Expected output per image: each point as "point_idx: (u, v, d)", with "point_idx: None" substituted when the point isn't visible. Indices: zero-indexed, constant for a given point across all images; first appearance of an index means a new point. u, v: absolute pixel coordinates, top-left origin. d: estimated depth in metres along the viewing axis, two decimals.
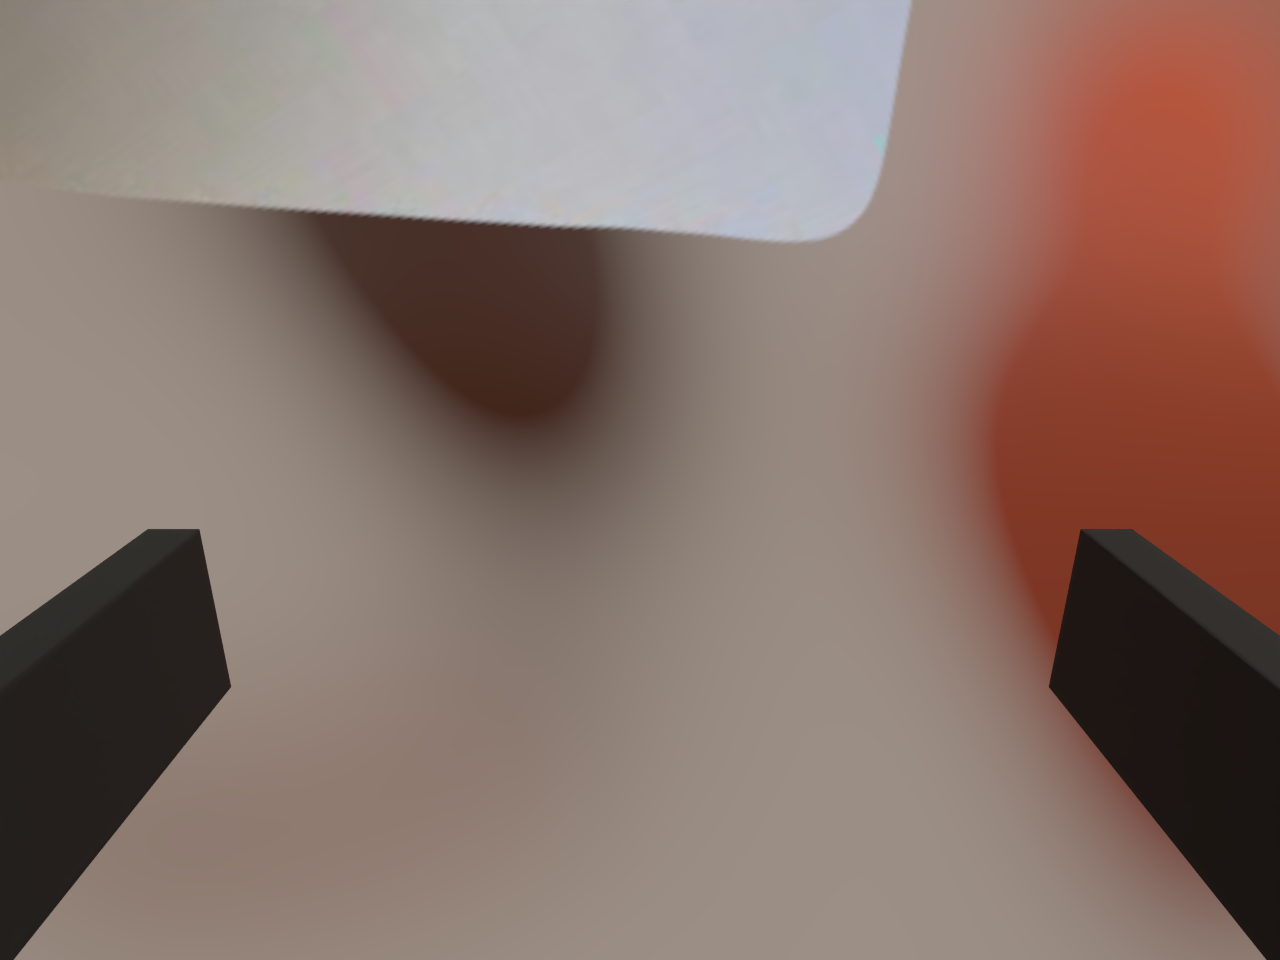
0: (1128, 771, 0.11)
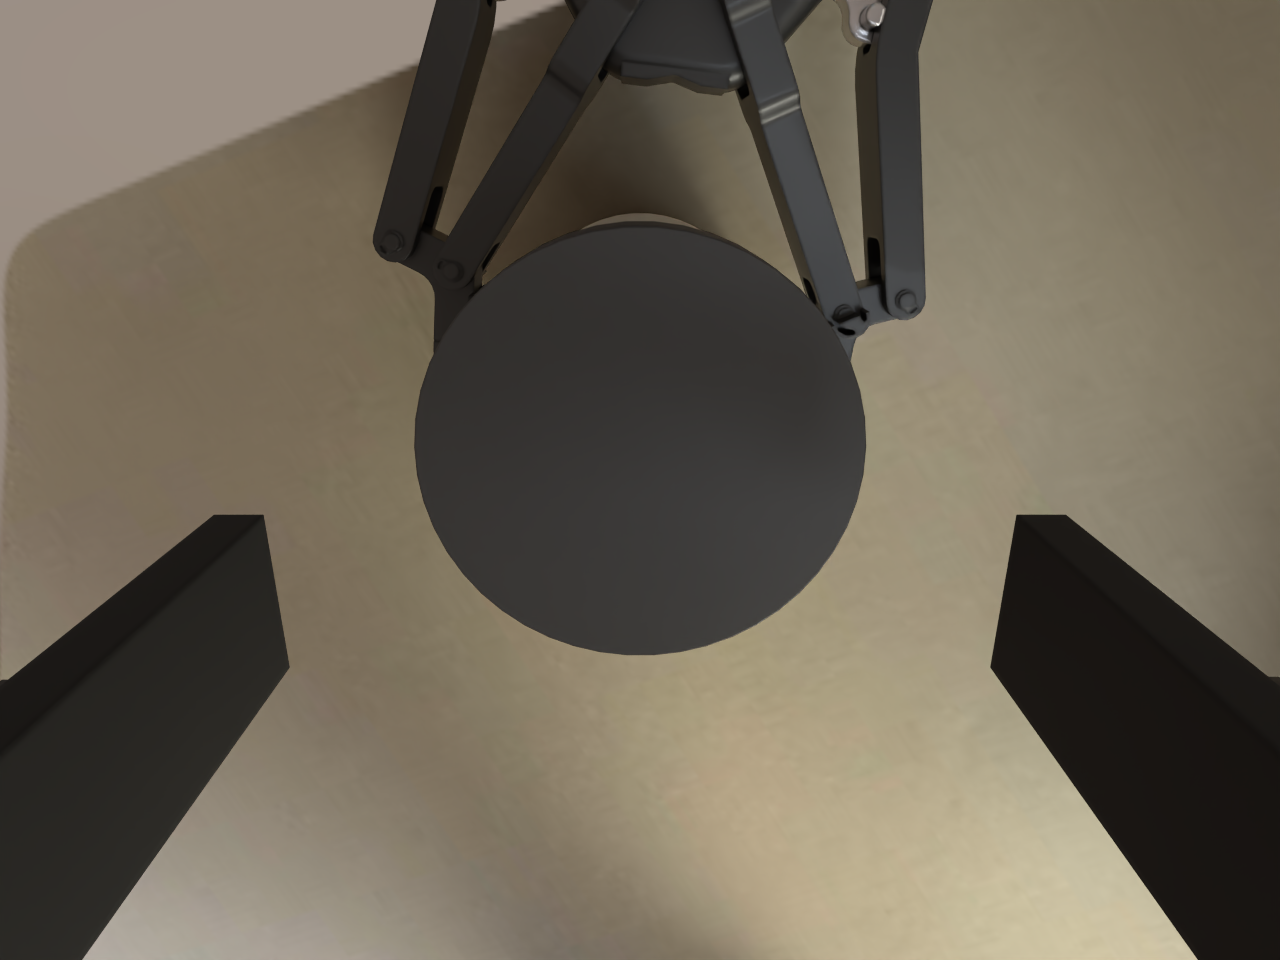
0: (1055, 744, 0.11)
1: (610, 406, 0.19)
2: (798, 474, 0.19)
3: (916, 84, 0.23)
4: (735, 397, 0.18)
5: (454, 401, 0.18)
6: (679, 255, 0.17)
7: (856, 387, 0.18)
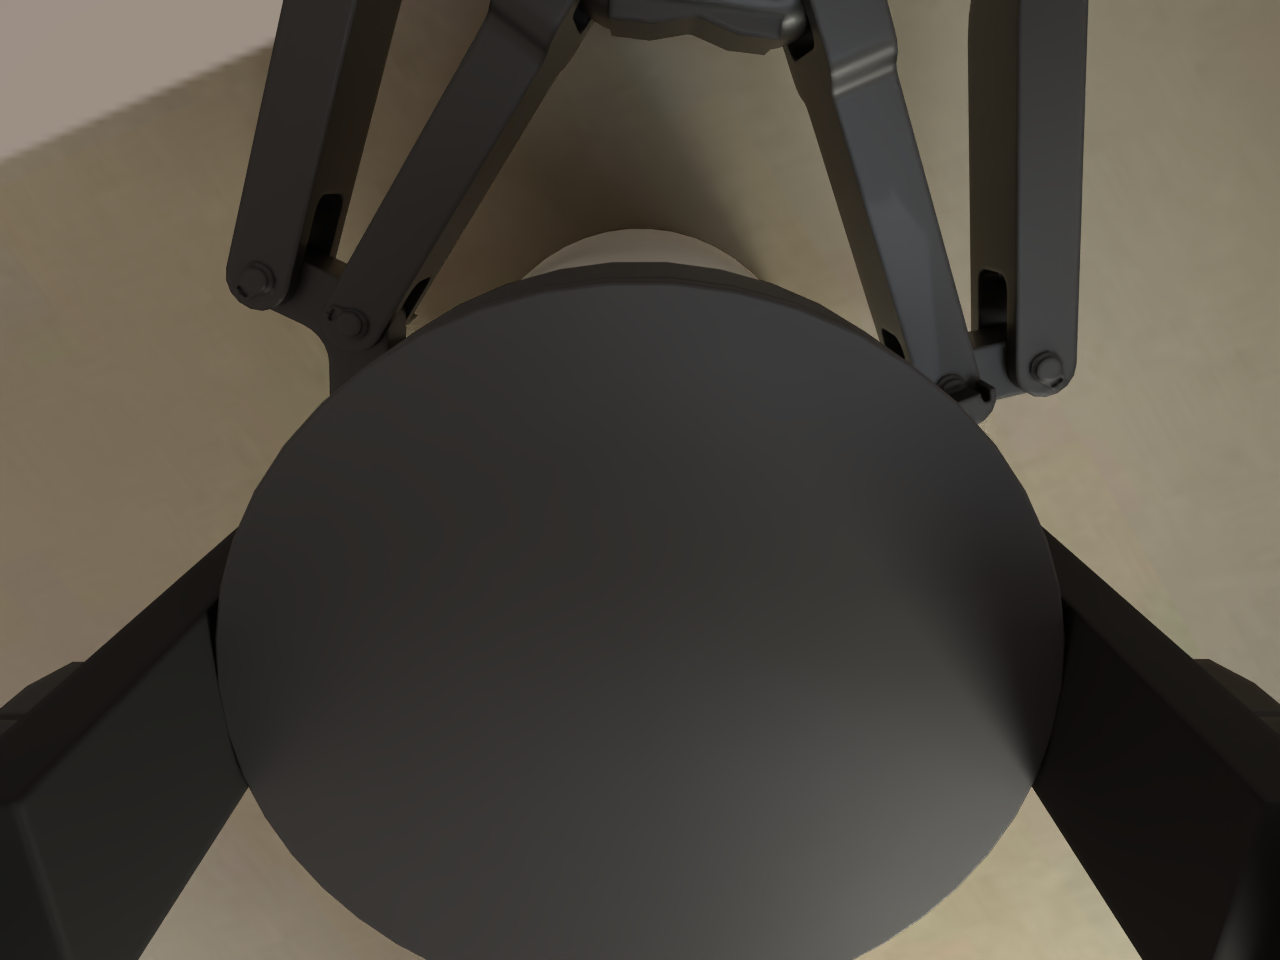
0: None
1: (583, 617, 0.10)
2: (933, 731, 0.10)
3: (1082, 31, 0.15)
4: (822, 601, 0.10)
5: (286, 607, 0.10)
6: (719, 339, 0.09)
7: (1054, 583, 0.10)
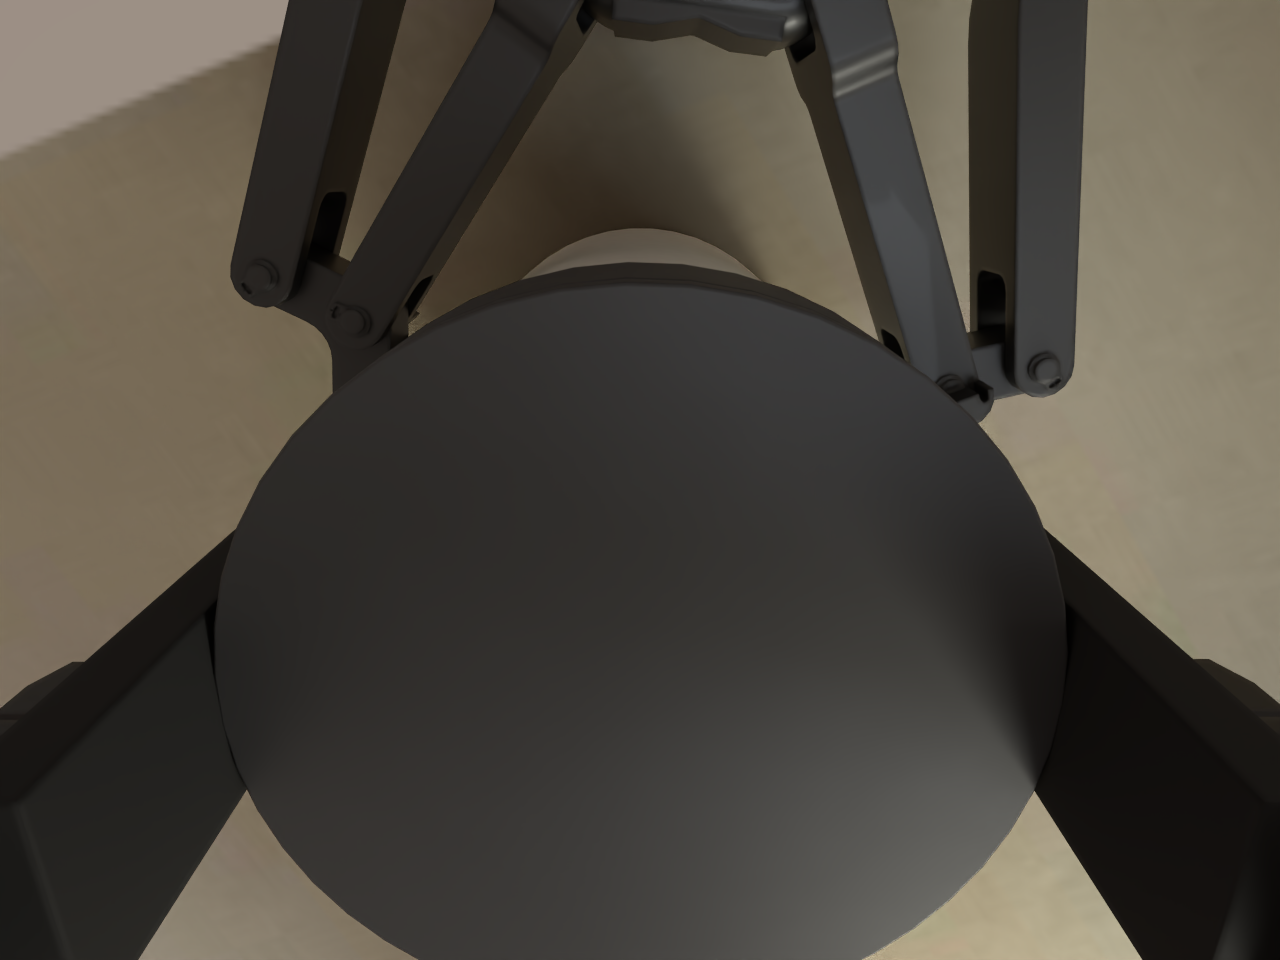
0: None
1: (551, 776, 0.10)
2: (593, 428, 0.09)
3: (1082, 34, 0.15)
4: (471, 586, 0.10)
5: None
6: (264, 727, 0.10)
7: (375, 367, 0.09)
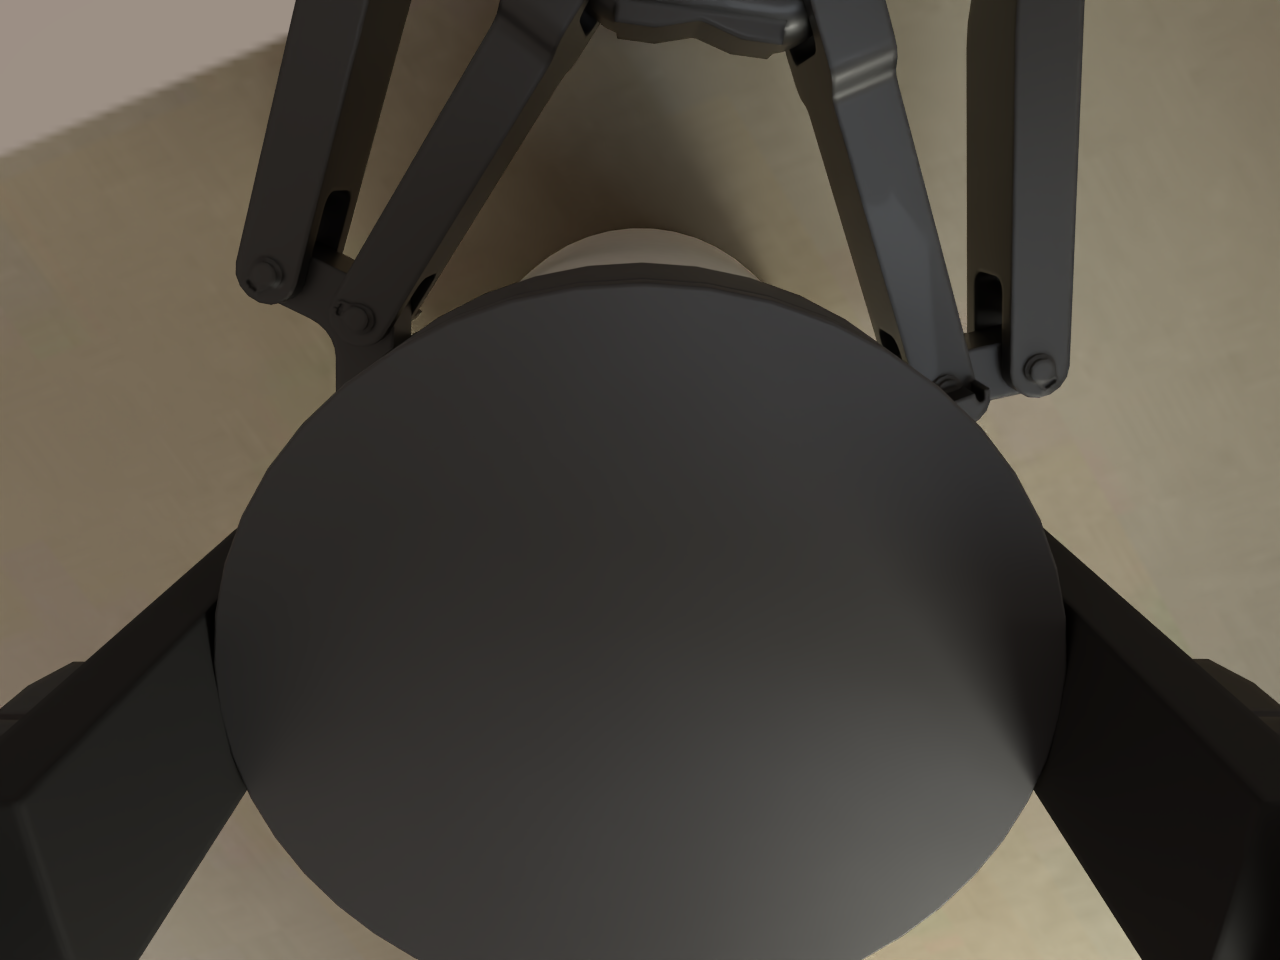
0: None
1: (732, 772, 0.10)
2: (372, 798, 0.11)
3: (1078, 40, 0.15)
4: (545, 858, 0.11)
5: (1001, 676, 0.10)
6: None
7: (381, 935, 0.11)
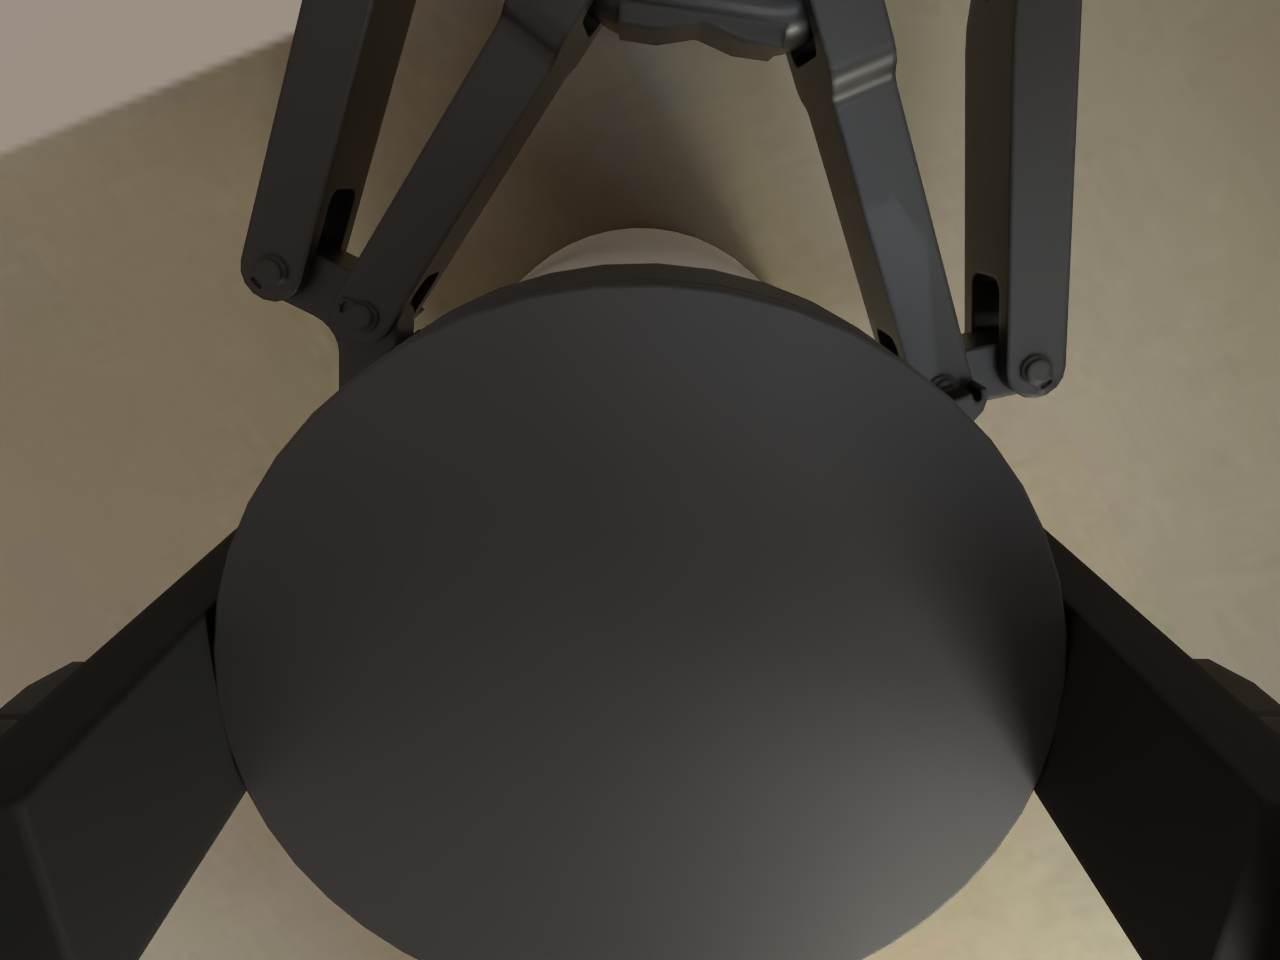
0: None
1: (691, 618, 0.10)
2: (790, 902, 0.11)
3: (1075, 44, 0.15)
4: (839, 761, 0.10)
5: (498, 386, 0.09)
6: (1000, 548, 0.09)
7: (966, 880, 0.11)
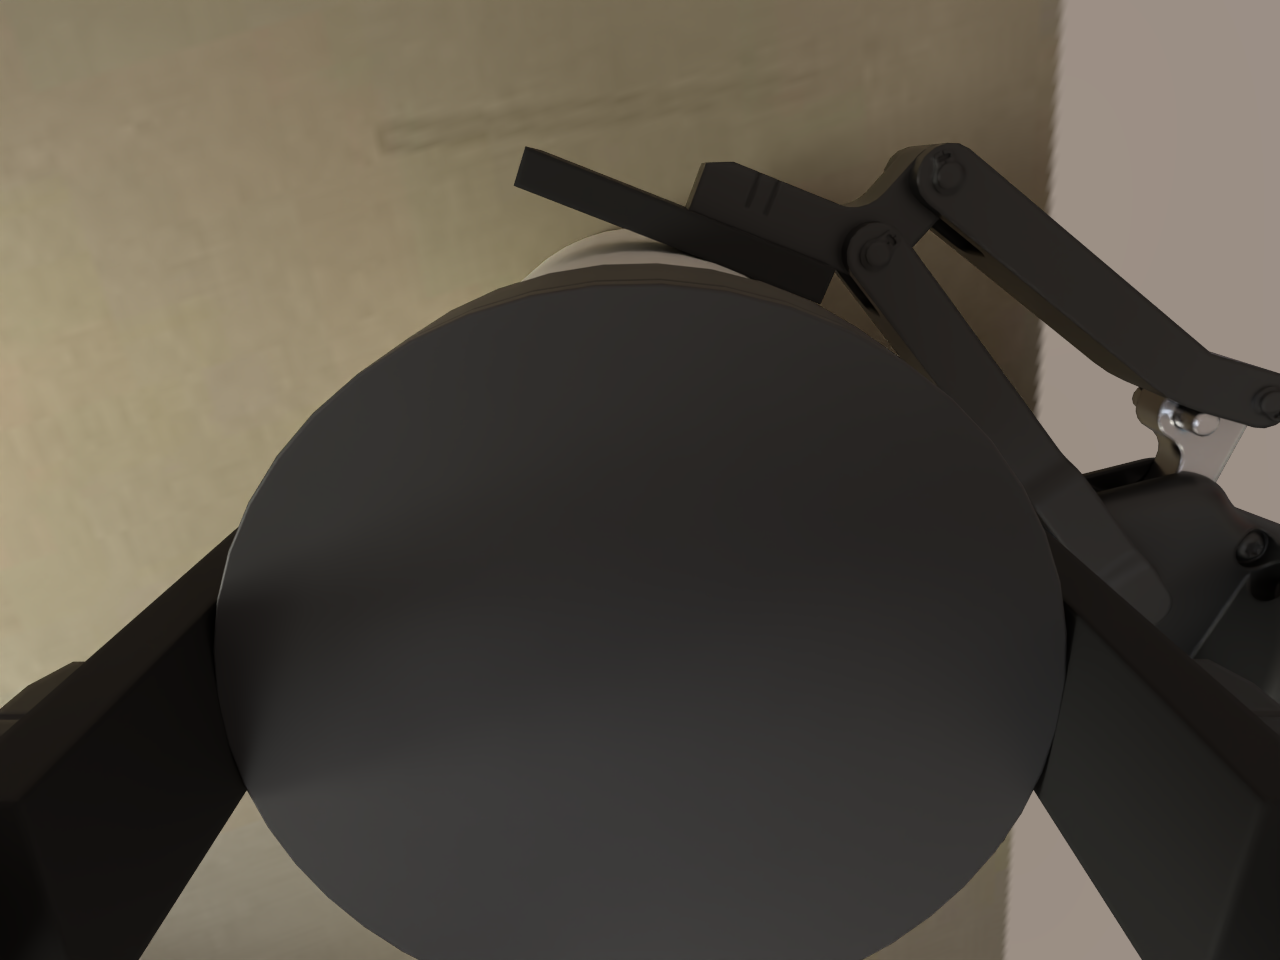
0: None
1: (691, 618, 0.10)
2: (790, 902, 0.11)
3: None
4: (839, 761, 0.10)
5: (499, 385, 0.09)
6: (1000, 548, 0.09)
7: (966, 880, 0.11)
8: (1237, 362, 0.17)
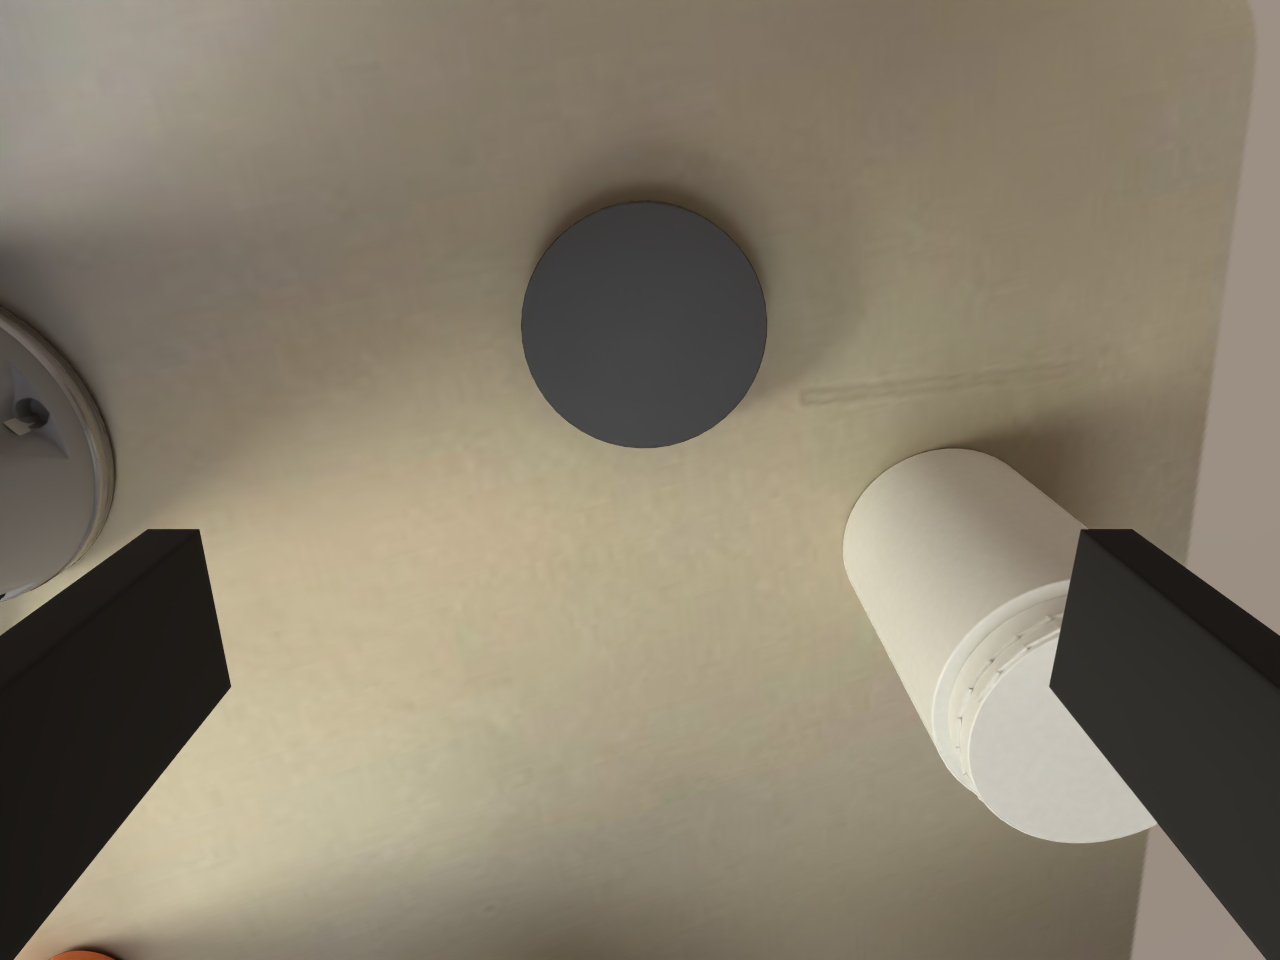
0: (1128, 771, 0.11)
1: (658, 299, 0.34)
2: (691, 401, 0.36)
3: None
4: (703, 348, 0.35)
5: (607, 229, 0.33)
6: (743, 277, 0.34)
7: (745, 393, 0.36)
8: None
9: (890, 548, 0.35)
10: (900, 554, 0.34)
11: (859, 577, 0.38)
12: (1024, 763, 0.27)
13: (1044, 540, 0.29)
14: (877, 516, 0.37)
